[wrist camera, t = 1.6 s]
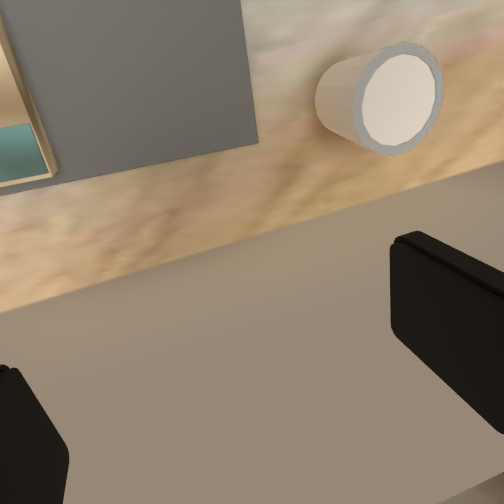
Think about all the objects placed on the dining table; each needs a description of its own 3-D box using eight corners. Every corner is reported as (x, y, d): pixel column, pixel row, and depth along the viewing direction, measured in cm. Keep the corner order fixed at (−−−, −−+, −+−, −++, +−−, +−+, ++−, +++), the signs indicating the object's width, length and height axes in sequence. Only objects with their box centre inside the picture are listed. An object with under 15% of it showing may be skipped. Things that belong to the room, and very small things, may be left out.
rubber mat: (-188, -54, 19) (-197, -57, 19) (226, -86, 23) (228, -90, 23) (-50, 204, 25) (-54, 206, 25) (256, 141, 30) (258, 142, 29)
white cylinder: (307, 146, 31) (350, 162, 25) (306, 53, 28) (355, 45, 22) (379, 136, 33) (437, 149, 26) (386, 47, 30) (453, 38, 23)
